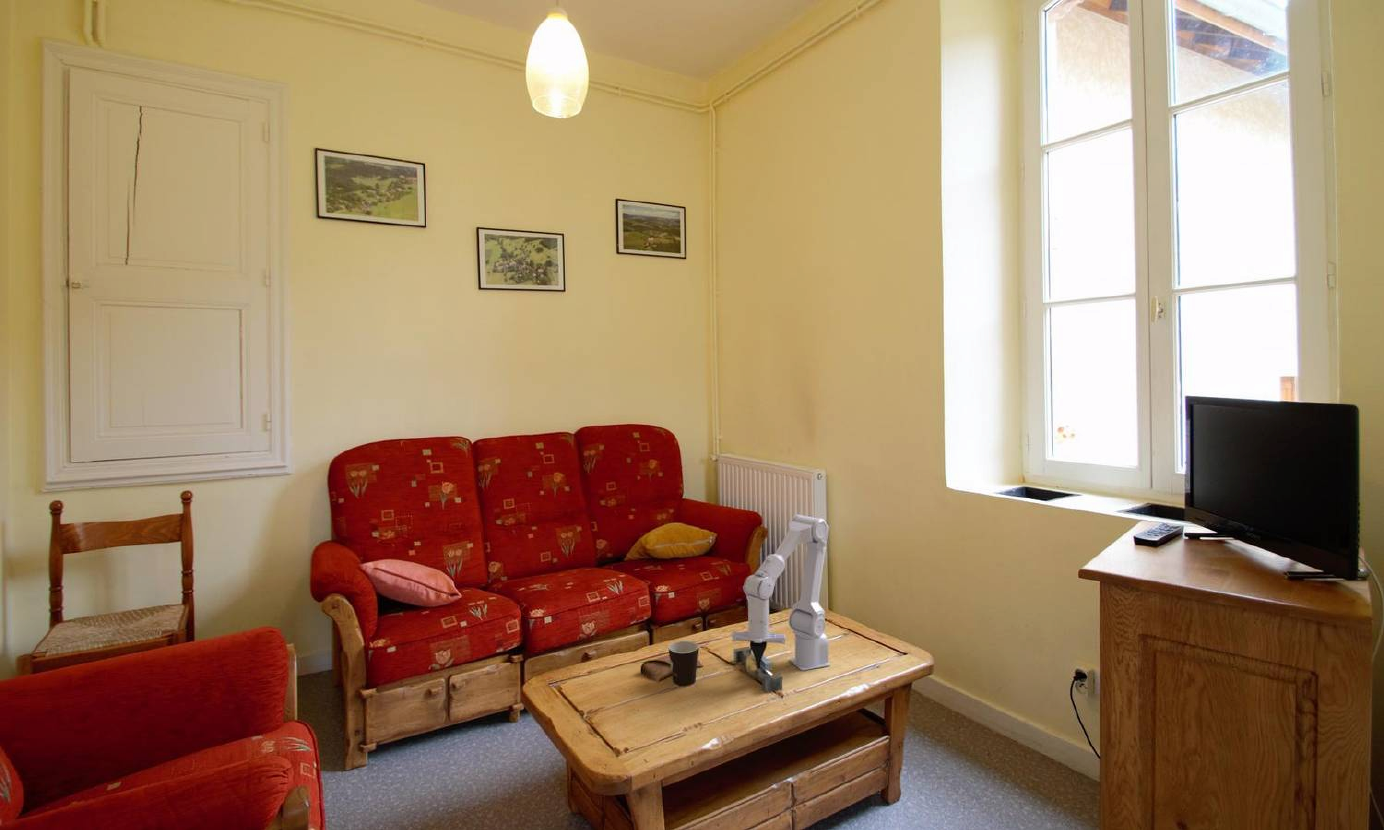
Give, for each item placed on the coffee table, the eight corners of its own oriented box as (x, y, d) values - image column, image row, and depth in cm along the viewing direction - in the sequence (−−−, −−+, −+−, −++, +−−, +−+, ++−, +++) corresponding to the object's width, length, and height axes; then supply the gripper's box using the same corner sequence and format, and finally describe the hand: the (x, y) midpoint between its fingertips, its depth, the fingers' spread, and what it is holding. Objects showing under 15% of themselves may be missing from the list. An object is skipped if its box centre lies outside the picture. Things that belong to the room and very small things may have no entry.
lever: (749, 656, 194) (749, 650, 194) (759, 655, 195) (759, 649, 195) (763, 670, 185) (763, 664, 185) (773, 668, 186) (773, 662, 186)
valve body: (732, 661, 203) (731, 646, 202) (750, 658, 205) (750, 643, 204) (763, 693, 182) (763, 677, 182) (783, 689, 184) (783, 673, 184)
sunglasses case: (656, 683, 189) (649, 659, 191) (644, 688, 194) (637, 664, 196) (706, 665, 200) (698, 643, 202) (694, 670, 205) (687, 648, 207)
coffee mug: (696, 689, 185) (695, 654, 184) (665, 687, 186) (665, 652, 186) (703, 671, 196) (703, 637, 196) (675, 669, 198) (674, 635, 197)
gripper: (730, 623, 183) (731, 671, 184) (784, 625, 181) (784, 675, 181) (733, 614, 190) (734, 661, 191) (785, 616, 187) (785, 664, 188)
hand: (758, 667), depth 186 cm, fingers closed
